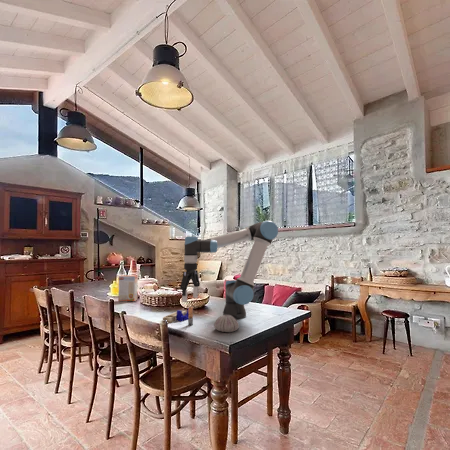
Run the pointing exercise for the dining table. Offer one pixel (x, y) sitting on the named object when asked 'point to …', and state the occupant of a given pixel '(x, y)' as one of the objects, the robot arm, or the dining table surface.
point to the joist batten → (173, 317)
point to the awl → (190, 316)
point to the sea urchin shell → (226, 323)
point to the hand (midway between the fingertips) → (190, 299)
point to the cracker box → (127, 288)
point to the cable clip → (181, 316)
